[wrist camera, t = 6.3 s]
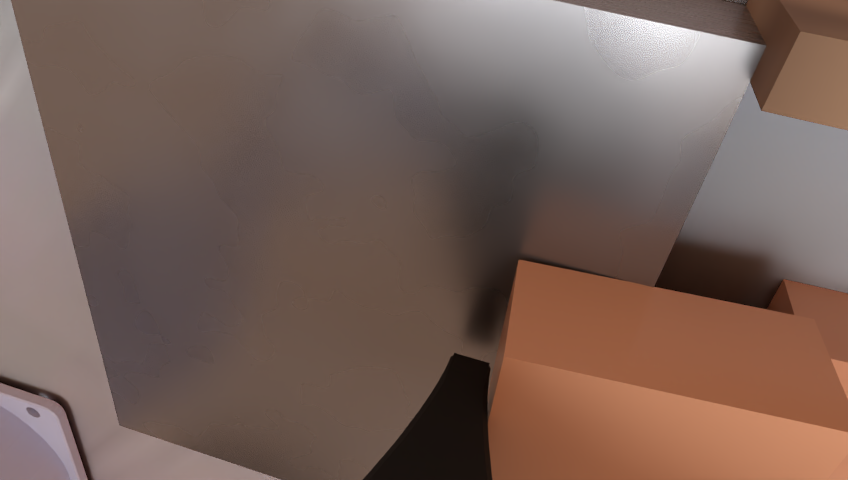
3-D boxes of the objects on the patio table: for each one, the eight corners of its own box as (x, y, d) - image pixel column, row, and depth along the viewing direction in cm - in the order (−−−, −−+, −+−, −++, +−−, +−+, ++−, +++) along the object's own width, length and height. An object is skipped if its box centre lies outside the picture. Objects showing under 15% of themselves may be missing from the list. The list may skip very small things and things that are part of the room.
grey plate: (160, 374, 20) (119, 425, 18) (69, -135, 12) (-20, -123, 10) (534, 495, 18) (525, 561, 17) (745, 5, 10) (767, 45, 8)
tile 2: (478, 434, 14) (460, 534, 12) (518, 259, 11) (503, 356, 9) (707, 488, 14) (727, 602, 12) (814, 318, 11) (862, 435, 9)
